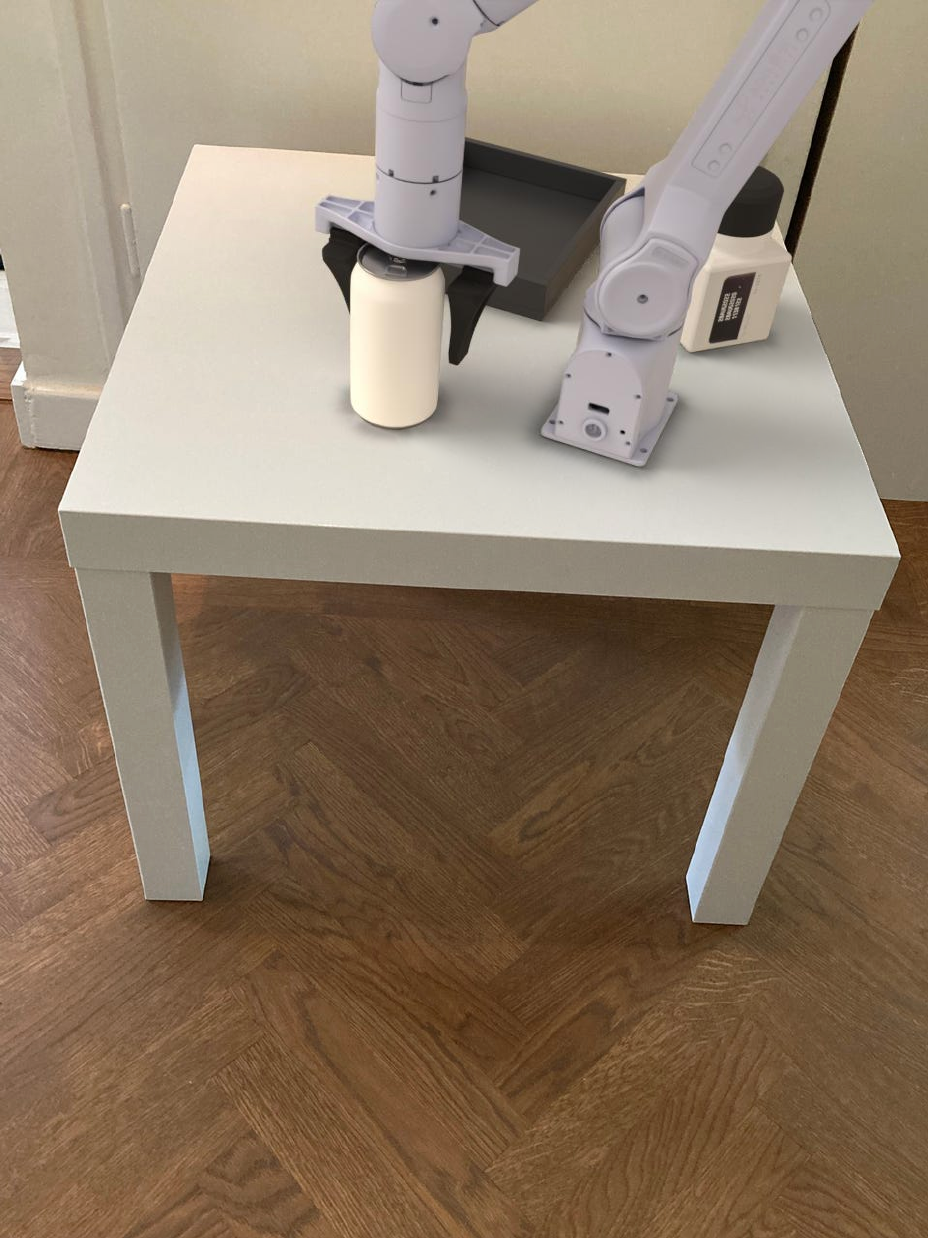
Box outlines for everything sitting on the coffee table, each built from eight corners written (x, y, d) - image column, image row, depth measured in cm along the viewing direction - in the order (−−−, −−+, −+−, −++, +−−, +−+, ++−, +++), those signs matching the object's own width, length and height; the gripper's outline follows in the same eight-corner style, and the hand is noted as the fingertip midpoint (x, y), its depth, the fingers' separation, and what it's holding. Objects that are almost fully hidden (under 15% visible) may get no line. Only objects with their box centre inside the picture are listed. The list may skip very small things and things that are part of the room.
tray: (542, 321, 95) (547, 285, 93) (351, 265, 99) (351, 229, 97) (621, 211, 109) (627, 178, 107) (451, 166, 113) (453, 133, 111)
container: (769, 340, 96) (814, 190, 86) (688, 354, 93) (726, 202, 84) (721, 292, 100) (760, 145, 91) (643, 304, 98) (675, 155, 89)
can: (441, 384, 88) (451, 239, 79) (431, 436, 84) (441, 288, 75) (357, 374, 88) (358, 228, 79) (343, 425, 84) (342, 276, 75)
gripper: (544, 166, 76) (522, 343, 86) (347, 114, 79) (347, 290, 89) (504, 211, 71) (485, 392, 81) (297, 154, 75) (303, 335, 84)
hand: (410, 342), depth 85 cm, fingers open, 7 cm apart
